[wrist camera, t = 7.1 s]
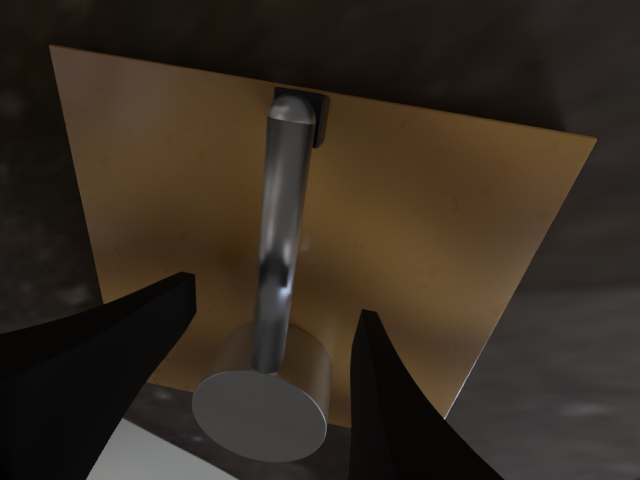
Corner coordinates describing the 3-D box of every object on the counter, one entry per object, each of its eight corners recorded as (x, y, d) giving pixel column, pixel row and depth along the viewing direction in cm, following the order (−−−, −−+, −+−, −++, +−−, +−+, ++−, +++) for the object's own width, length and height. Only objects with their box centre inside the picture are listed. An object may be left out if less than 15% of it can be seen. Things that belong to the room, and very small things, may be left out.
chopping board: (425, 422, 19) (430, 447, 17) (134, 357, 20) (118, 376, 18) (570, 133, 11) (600, 137, 10) (81, 50, 12) (46, 43, 11)
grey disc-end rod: (322, 413, 17) (315, 474, 15) (220, 390, 18) (193, 445, 15) (398, 108, 10) (413, 108, 7) (222, 78, 10) (170, 67, 8)
